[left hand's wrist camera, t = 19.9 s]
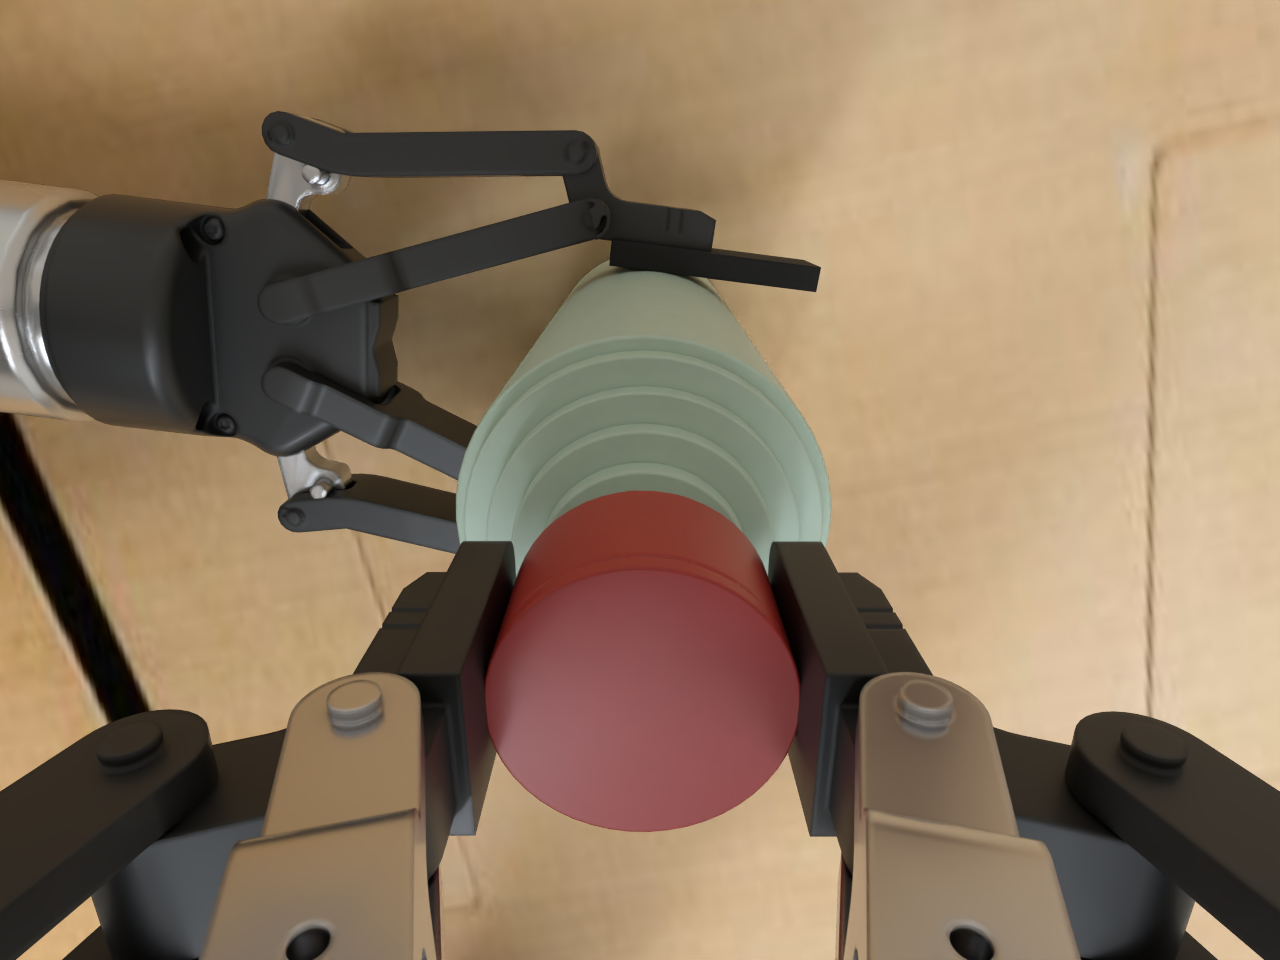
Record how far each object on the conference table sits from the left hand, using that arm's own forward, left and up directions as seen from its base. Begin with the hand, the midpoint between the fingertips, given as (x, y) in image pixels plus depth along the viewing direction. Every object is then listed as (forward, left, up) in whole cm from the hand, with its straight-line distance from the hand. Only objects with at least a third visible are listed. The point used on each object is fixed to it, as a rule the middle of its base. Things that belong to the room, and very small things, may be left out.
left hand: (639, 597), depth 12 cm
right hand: (+4, -3, -16) cm, 16 cm away
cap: (0, 0, +2) cm, 2 cm away
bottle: (0, 0, -22) cm, 22 cm away
